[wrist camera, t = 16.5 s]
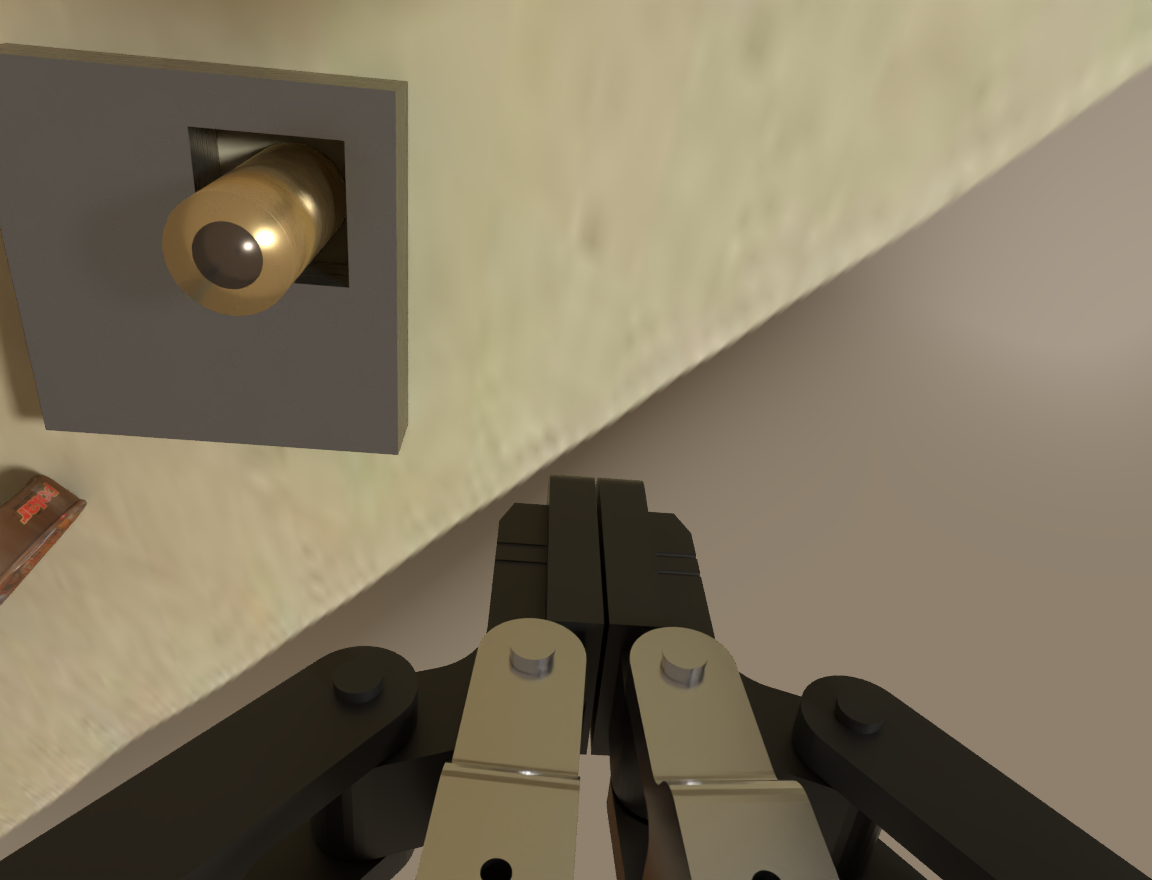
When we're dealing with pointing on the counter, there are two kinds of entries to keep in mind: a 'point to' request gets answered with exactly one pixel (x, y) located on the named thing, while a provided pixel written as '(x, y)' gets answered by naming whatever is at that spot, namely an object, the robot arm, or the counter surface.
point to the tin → (32, 528)
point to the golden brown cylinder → (254, 229)
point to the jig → (140, 275)
